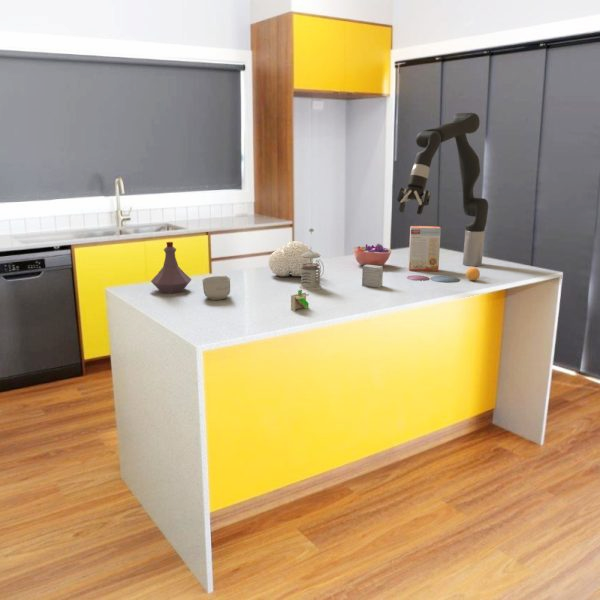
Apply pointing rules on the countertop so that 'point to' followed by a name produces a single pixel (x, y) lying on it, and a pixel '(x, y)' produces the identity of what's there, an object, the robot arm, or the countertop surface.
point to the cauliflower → (289, 259)
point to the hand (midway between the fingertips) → (409, 213)
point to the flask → (170, 273)
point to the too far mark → (418, 277)
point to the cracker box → (424, 248)
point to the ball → (472, 273)
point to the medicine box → (372, 276)
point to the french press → (311, 272)
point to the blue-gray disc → (445, 279)
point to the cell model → (372, 255)
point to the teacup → (216, 287)
